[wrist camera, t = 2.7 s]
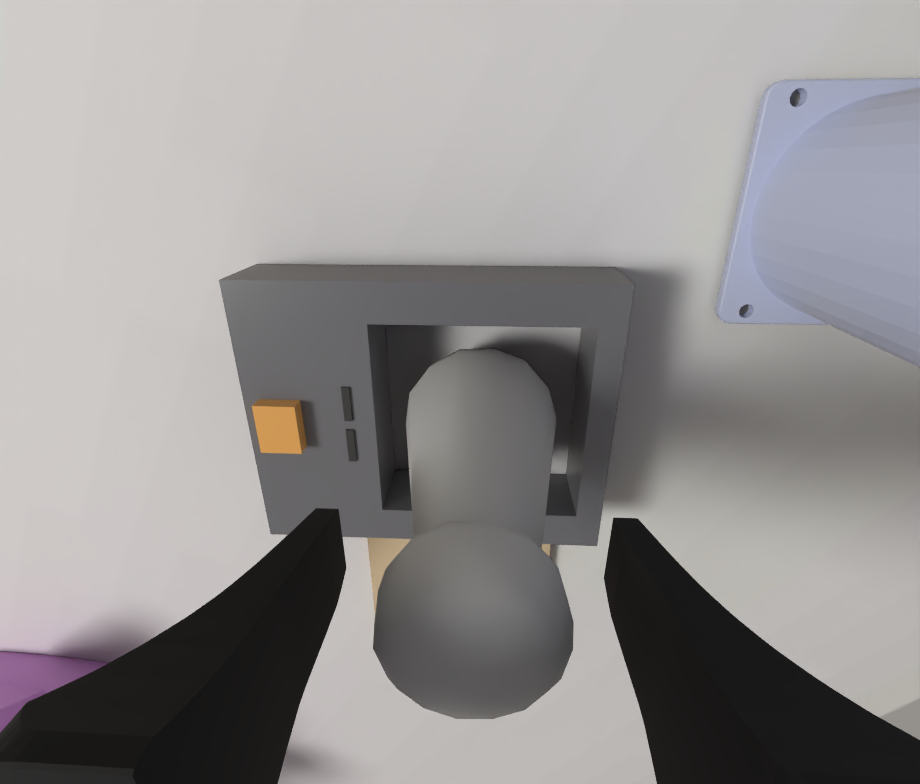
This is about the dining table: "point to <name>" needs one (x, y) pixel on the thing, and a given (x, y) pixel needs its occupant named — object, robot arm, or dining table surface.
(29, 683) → the teakettle
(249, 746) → the robot arm
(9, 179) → the dining table surface
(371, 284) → the grey flat block
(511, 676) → the salt shaker
